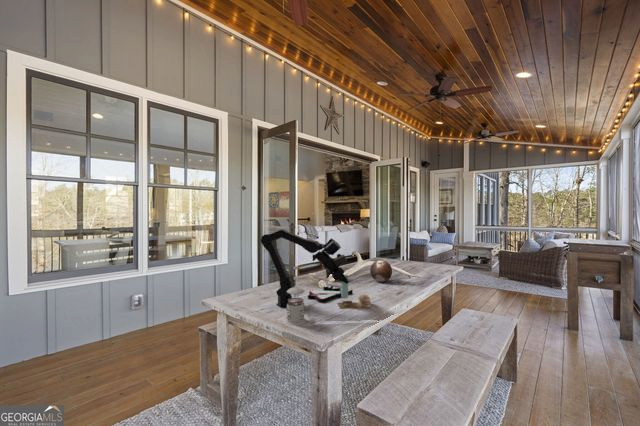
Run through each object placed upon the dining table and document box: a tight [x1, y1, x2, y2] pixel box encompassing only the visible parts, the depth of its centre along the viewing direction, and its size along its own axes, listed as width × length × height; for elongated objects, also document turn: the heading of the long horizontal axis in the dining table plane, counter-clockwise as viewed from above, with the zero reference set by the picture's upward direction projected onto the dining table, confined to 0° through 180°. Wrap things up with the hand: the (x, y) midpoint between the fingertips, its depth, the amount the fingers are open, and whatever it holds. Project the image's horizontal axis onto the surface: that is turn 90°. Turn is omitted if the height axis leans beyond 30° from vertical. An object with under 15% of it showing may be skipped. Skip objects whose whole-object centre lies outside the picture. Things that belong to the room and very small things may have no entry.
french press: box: [284, 266, 307, 326], centre depth 139 cm, size 10×12×25 cm
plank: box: [341, 274, 349, 299], centre depth 157 cm, size 3×2×11 cm
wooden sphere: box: [369, 259, 393, 283], centre depth 213 cm, size 15×15×15 cm
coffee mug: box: [325, 268, 333, 279], centre depth 217 cm, size 12×9×10 cm
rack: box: [336, 294, 372, 310], centre depth 158 cm, size 16×10×6 cm, turn 95°
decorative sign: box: [307, 284, 354, 304], centre depth 177 cm, size 18×4×30 cm
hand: (347, 282), depth 157 cm, fingers closed on plank, 2 cm apart
